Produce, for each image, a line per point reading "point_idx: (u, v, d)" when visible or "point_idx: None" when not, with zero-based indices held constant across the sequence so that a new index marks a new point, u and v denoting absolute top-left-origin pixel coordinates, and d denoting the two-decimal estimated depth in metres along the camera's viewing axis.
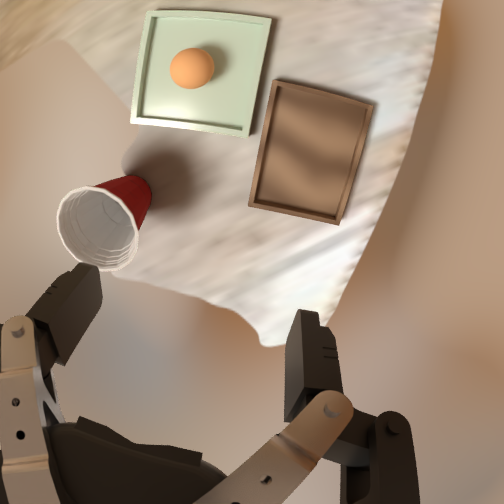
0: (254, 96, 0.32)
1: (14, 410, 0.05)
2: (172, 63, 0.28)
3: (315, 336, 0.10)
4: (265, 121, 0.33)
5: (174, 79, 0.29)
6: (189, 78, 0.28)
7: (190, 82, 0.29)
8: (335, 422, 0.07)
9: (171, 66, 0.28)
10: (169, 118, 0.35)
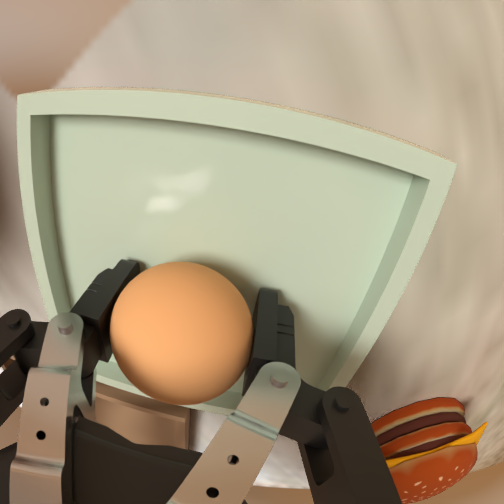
0: (144, 395, 0.15)
1: (41, 409, 0.05)
2: (178, 334, 0.08)
3: (271, 312, 0.10)
4: (106, 397, 0.16)
5: (122, 324, 0.08)
6: (129, 379, 0.09)
7: (121, 370, 0.09)
8: (280, 392, 0.08)
9: (168, 327, 0.08)
10: (53, 207, 0.11)
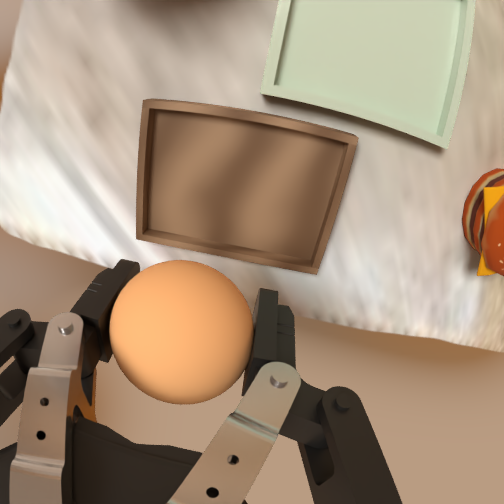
0: (332, 107, 0.19)
1: (41, 409, 0.05)
2: (178, 333, 0.08)
3: (271, 312, 0.10)
4: (289, 122, 0.20)
5: (122, 323, 0.08)
6: (129, 378, 0.09)
7: None
8: (280, 392, 0.08)
9: (168, 325, 0.08)
10: None
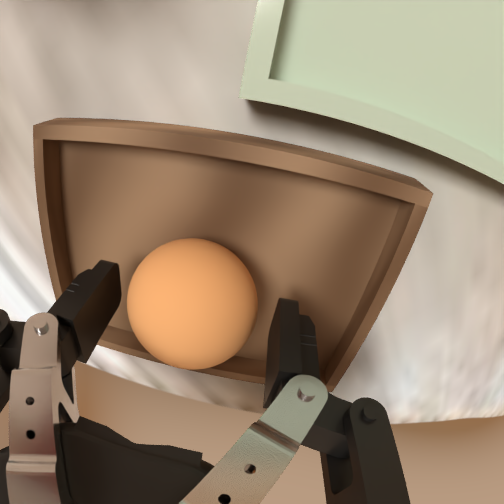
0: (391, 131, 0.09)
1: (27, 409, 0.05)
2: (191, 297, 0.09)
3: (293, 323, 0.10)
4: (302, 160, 0.10)
5: (140, 290, 0.10)
6: (144, 344, 0.10)
7: (136, 336, 0.10)
8: (308, 406, 0.07)
9: (183, 290, 0.09)
10: None
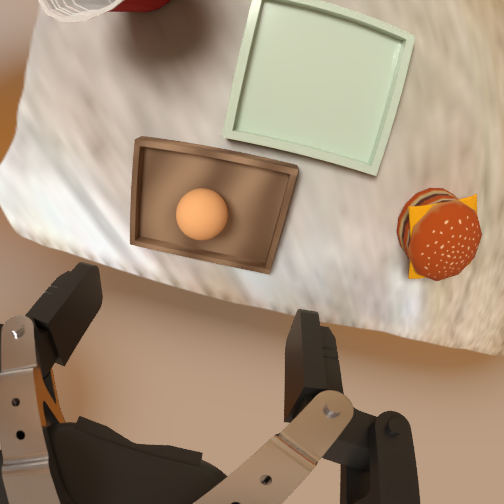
0: (277, 147, 0.27)
1: (14, 410, 0.05)
2: (203, 204, 0.27)
3: (315, 336, 0.10)
4: (244, 159, 0.28)
5: (184, 203, 0.27)
6: (183, 225, 0.28)
7: (179, 223, 0.28)
8: (335, 422, 0.07)
9: (200, 202, 0.27)
10: (255, 36, 0.23)
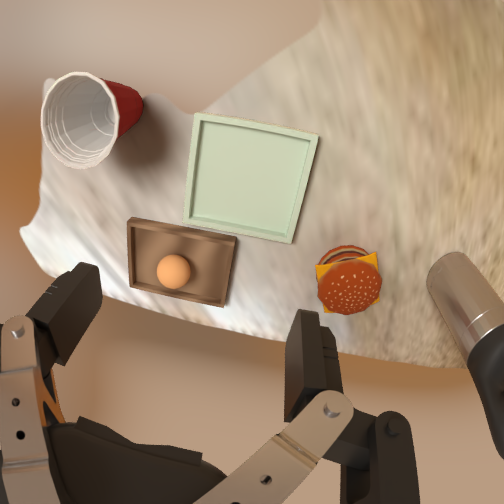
0: (219, 228, 0.42)
1: (14, 410, 0.05)
2: (172, 268, 0.42)
3: (315, 336, 0.10)
4: (198, 236, 0.43)
5: (160, 267, 0.42)
6: (160, 280, 0.43)
7: None
8: (335, 422, 0.07)
9: (170, 266, 0.42)
10: (198, 150, 0.37)
